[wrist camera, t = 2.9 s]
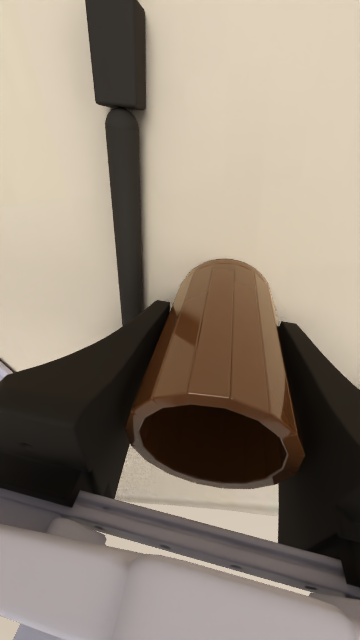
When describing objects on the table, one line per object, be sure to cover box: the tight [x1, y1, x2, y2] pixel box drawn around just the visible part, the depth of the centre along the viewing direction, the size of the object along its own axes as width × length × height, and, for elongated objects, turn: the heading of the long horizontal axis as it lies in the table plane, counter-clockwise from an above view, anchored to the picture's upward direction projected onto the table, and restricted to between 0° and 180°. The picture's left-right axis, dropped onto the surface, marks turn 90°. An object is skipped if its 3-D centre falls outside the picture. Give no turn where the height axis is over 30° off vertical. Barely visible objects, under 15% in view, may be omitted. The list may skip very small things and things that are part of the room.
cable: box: [85, 0, 146, 326], centre depth 12 cm, size 19×2×1 cm, turn 175°
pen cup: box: [125, 259, 305, 489], centre depth 10 cm, size 5×5×8 cm
